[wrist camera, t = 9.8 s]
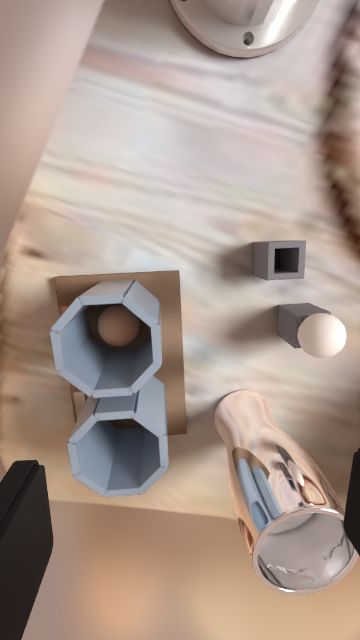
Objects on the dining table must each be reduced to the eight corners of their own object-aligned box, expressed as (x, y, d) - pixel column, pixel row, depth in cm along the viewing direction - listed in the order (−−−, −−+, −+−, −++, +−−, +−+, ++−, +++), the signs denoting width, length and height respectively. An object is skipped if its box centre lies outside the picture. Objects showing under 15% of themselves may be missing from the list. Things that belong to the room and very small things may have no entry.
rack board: (57, 276, 28) (53, 278, 27) (178, 270, 29) (179, 271, 28) (80, 437, 32) (77, 443, 31) (185, 429, 33) (186, 435, 32)
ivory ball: (291, 310, 26) (311, 320, 23) (332, 307, 27) (358, 318, 23) (289, 350, 27) (308, 366, 24) (329, 347, 27) (354, 363, 24)
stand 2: (278, 304, 30) (296, 314, 26) (309, 303, 30) (330, 312, 26) (277, 334, 31) (294, 348, 27) (307, 332, 31) (328, 345, 27)
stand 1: (253, 242, 28) (268, 242, 25) (286, 240, 29) (305, 240, 25) (253, 275, 29) (267, 280, 25) (284, 273, 29) (303, 278, 25)
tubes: (77, 282, 28) (44, 298, 20) (158, 277, 28) (157, 292, 20) (96, 436, 31) (75, 499, 24) (167, 430, 32) (170, 491, 24)
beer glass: (195, 420, 33) (224, 564, 18) (241, 372, 32) (310, 484, 17) (243, 455, 34) (304, 615, 20) (288, 411, 33) (388, 544, 18)
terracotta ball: (100, 302, 28) (91, 310, 25) (139, 299, 28) (136, 308, 25) (104, 339, 29) (96, 353, 26) (142, 337, 29) (140, 350, 26)
